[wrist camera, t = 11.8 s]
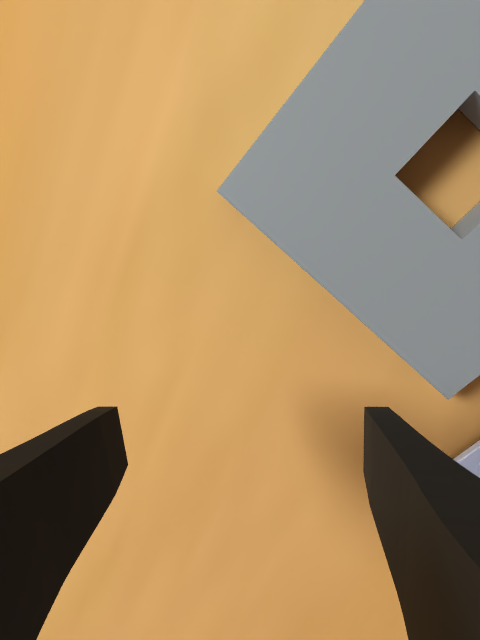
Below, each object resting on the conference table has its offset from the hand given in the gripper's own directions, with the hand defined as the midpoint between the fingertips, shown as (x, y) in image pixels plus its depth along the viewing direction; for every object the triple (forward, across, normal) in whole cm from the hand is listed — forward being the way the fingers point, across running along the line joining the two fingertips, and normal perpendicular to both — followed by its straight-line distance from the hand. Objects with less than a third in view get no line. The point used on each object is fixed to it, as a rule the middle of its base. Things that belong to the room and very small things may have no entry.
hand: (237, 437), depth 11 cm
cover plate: (+9, -8, -7) cm, 15 cm away
